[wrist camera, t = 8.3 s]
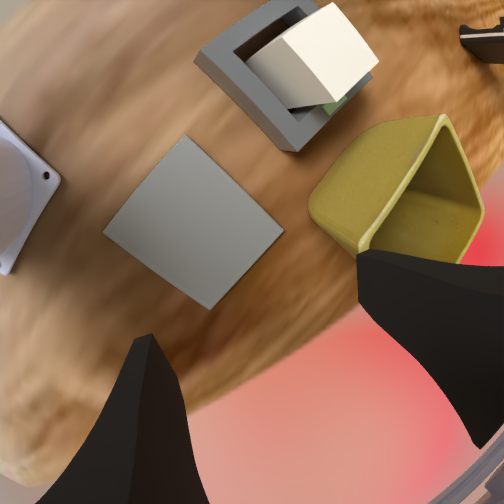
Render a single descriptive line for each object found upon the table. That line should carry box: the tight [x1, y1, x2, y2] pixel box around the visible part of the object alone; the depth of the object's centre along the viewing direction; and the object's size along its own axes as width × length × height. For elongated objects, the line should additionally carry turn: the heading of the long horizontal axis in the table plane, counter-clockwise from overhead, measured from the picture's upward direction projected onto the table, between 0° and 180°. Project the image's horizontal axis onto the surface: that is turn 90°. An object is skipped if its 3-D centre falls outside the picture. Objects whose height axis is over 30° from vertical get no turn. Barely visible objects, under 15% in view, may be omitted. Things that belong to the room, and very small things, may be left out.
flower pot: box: [307, 114, 485, 264], centre depth 17 cm, size 9×9×9 cm
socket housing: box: [193, 0, 373, 152], centre depth 15 cm, size 8×8×3 cm
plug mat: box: [103, 135, 284, 310], centre depth 18 cm, size 9×8×1 cm
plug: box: [244, 2, 379, 109], centre depth 14 cm, size 4×4×6 cm
